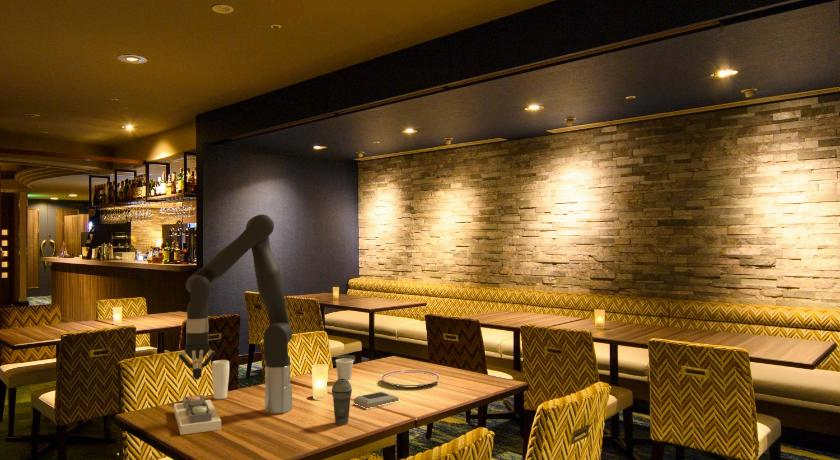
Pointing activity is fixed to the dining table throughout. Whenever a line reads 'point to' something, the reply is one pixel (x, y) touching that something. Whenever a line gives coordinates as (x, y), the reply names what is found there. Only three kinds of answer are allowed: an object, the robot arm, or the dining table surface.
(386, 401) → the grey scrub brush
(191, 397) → the terracotta button
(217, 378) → the white tumbler
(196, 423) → the button console
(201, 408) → the sage button
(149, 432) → the dining table surface
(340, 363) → the dixie cup
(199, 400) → the slate button
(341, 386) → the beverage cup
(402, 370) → the dinner plate
